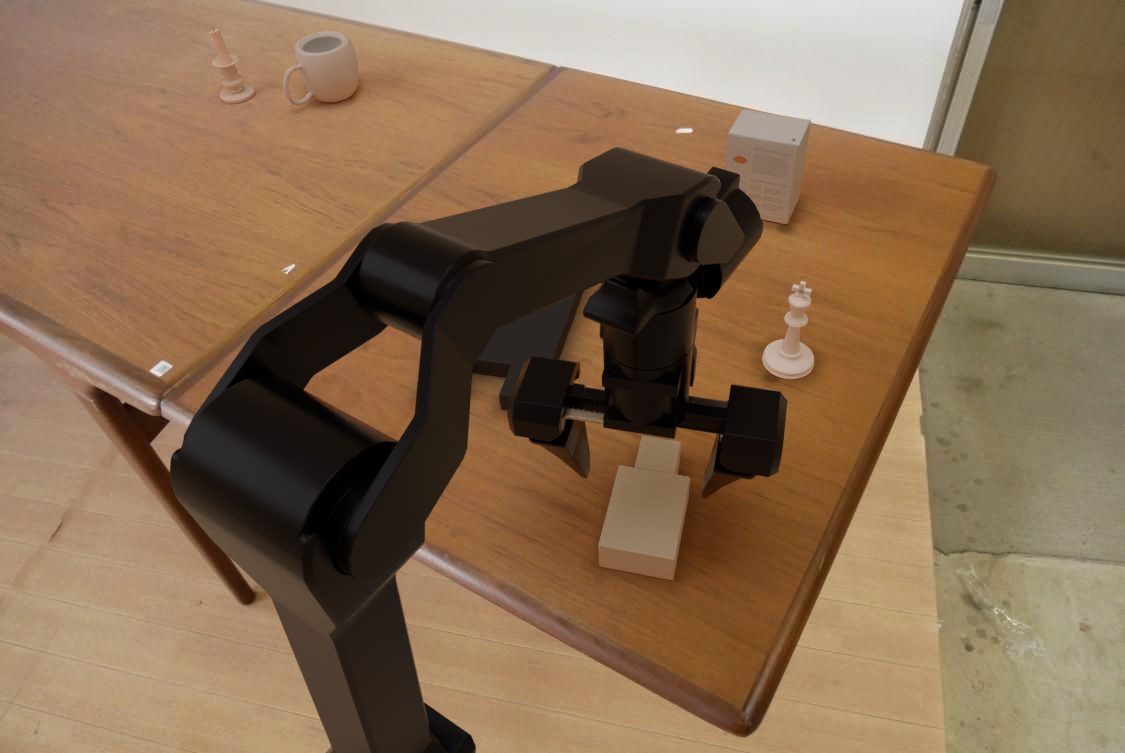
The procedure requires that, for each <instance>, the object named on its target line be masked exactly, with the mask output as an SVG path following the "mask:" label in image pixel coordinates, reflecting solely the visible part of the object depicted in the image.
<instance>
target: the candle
mask: <svg viewBox="0 0 1125 753" xmlns="http://www.w3.org/2000/svg"><path fill="white" fill-rule="evenodd" d="M211 28H212V30H210V31H209V37H210V39H211V42H212V45H213V49H214V51H215V54H216V57H215V58H214V59H213V60H212V61H211V66H213V67H214V68H218V69H220V72H221V75H222V77H223V78H222V80H221V85H222V86H223V87H224V88H223V89H222V90H221V91H220V92H219V94H218V97H219V99H220V101H221V102H222V103H224V104H229V105H233V104H234V105H235V104H240V103H244V102H246V101H249V100H250V99H252V98H253V97H254V96H255V94H256V88H255V86H254V85H252V84H250V83H246V82H245V77H244V76H243V75H242V74H239V72H238V69H237V67H236V64H237V63H238V62H239V60H240V57H239V56H238V55H236V54H230V53H229V50H228V47H227V44H226V43H225V40H224V38H223V35H222V32H221V30H220V28H215V27H214V26H211ZM241 88H242V89H241ZM240 89H241V90H240ZM238 90H239V91H238ZM231 91H234V92H231ZM235 91H236V92H235Z"/></svg>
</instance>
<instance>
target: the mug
mask: <svg viewBox="0 0 1125 753" xmlns="http://www.w3.org/2000/svg"><path fill="white" fill-rule="evenodd" d="M293 53H294V60H295V65H291V66H290V67H289V68H288V69H286V70H285V73H284V75H283V80H282V88H283V93H284V95H285V97H286V99H287V101H289V102H290V103H291V104H292V105H295V106H303V105H305V104H307V103H309V101H310V100H311V99H312V98H315V99H317V100H318V101H320V102H323V103H336V102H340V101H344V100H346V99H348V98H350V97H352V96H353V95H354V93H355V92H356V90H357V88H358V85H359V75H360V72H359V71H360V70H359V63H358V59H357V54H356V51H355V48H354V44H353V42H352V41H351V40H350V38H349V37H348V35H346V33H344V32H341V31H335V30H324V31H318V32H313V33H310V34H308V35H306V36H304V37H302V38H300V39H299V40H298V41H297V42H296V43H295V46H294V51H293ZM296 71H298V75H299V77H300V79H301V81H302V83H303V85H304V86H305V88H306V90H307V91H308V92H307V94H306V95H305V96H304V97H303V98H301V99H296V98H294V97H293V96H292V94H291V92H290V88H289V81H290V77H291V75H292V74H293V73H294V72H296Z"/></svg>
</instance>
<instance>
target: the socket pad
mask: <svg viewBox="0 0 1125 753" xmlns="http://www.w3.org/2000/svg"><path fill="white" fill-rule="evenodd" d="M583 293H584V291H581V292H579V293H577V294H575V295H572V296H570V297H568V298H565V299H563V300H561V301H559V302H556V303H554V304H552V305H549V306H547V307H545V308H543V309H540V310H538V311H536V312H533V313H531V314H529V315H526V316H524V317H522V318H520V319H517V320H515V321H513V322H510V323H508V324H506V325H504V326H501V327H499V328H497V330H496V331H495V333H494V334H493V336H492V338H491V339H490V341H489V342H488V344H487V346H486V347H485V349H484V350H483V352H482V354H481V355H480V357H479V358H478V360H477V362H476V363H475V365H474V367H473V370H472V374H473V373H474V374H479V375H487V376H493V377H500V378H505V379H504V381H503V384H502V385H501V389H500V391H499V394H498V399H499V404H500V409H501V410H506V411H508V404H509V400H510V398H511V395H512V392H513V390H514V387H515V385H516V382H517V380H518V377H519V375H520V372H521V369H522V367H523V364H524V362H526V361H527V360H528V359H529V358H530V357H531V356H538V357H545V358H552V359H559V360H560V358H561V355H562V352H563V349H564V347H565V344H566V341H567V338H568V336H569V332H570V330H571V327H572V324H573V321H574V318H575V316H576V313H577V310H578V307H579V305H580V301H581V299H582V296H583ZM417 384H418V381H417Z"/></svg>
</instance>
